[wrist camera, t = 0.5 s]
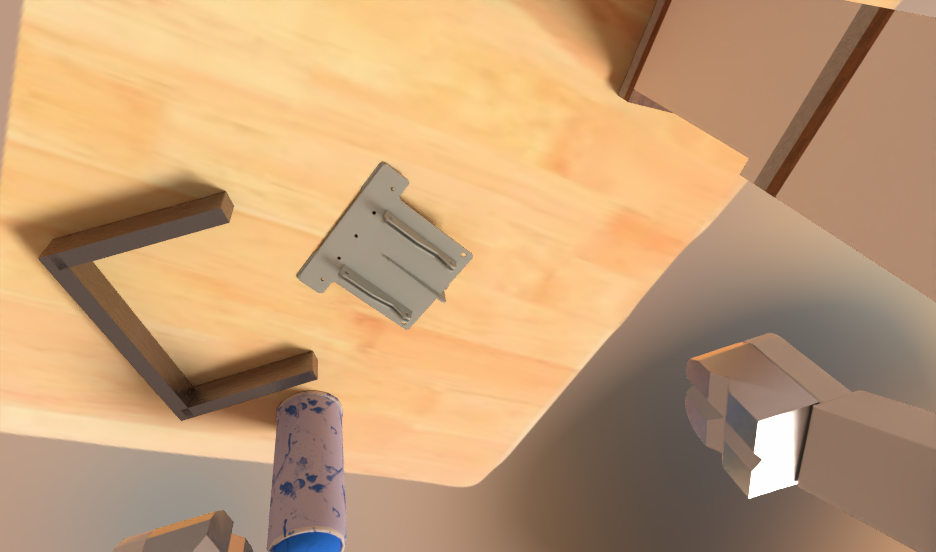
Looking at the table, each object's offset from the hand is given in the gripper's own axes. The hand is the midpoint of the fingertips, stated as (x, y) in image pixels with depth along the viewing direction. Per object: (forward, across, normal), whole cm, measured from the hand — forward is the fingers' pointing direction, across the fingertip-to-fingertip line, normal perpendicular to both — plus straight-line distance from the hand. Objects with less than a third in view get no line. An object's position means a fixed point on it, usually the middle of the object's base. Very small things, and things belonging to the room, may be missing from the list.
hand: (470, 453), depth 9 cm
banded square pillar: (+40, -30, +4) cm, 50 cm away
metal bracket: (+42, +2, +16) cm, 45 cm away
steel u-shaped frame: (+42, +21, +17) cm, 50 cm away
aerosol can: (+44, +18, +36) cm, 59 cm away
